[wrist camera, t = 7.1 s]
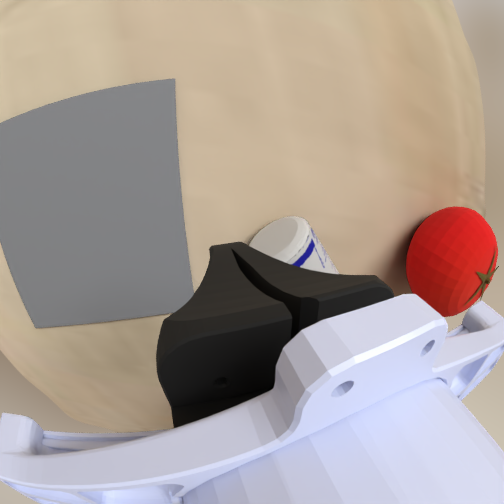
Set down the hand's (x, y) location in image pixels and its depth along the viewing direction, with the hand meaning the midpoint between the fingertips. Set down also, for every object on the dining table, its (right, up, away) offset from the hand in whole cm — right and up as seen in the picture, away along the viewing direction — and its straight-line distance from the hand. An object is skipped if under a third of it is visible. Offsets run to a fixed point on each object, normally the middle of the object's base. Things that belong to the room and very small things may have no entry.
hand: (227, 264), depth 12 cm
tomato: (+23, +2, +19) cm, 29 cm away
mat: (-12, +3, +6) cm, 14 cm away
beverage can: (+2, +2, +9) cm, 9 cm away
